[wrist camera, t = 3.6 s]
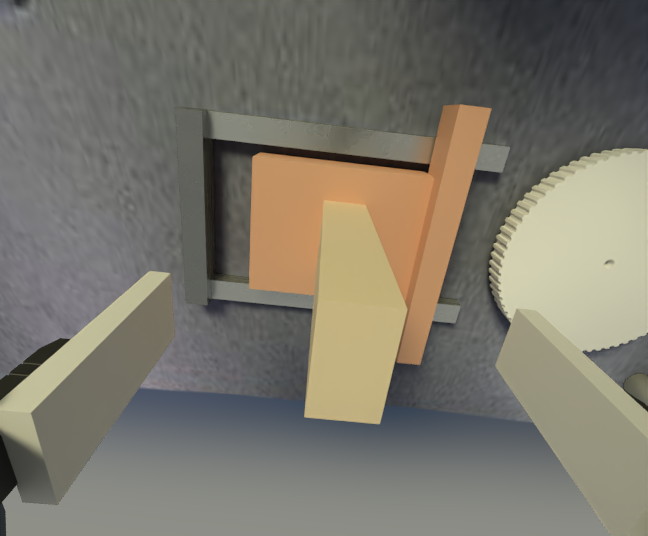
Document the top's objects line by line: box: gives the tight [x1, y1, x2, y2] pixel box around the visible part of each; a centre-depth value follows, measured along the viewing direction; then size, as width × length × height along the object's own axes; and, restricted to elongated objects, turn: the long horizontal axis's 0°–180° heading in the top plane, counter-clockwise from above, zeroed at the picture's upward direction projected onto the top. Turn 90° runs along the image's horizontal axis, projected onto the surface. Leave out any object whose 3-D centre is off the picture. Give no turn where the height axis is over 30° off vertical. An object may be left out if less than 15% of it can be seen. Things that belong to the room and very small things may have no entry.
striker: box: [249, 105, 492, 424], centre depth 17 cm, size 12×16×14 cm
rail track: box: [175, 107, 510, 323], centre depth 23 cm, size 20×12×2 cm, turn 84°
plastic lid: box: [489, 148, 648, 352], centre depth 24 cm, size 14×14×2 cm
